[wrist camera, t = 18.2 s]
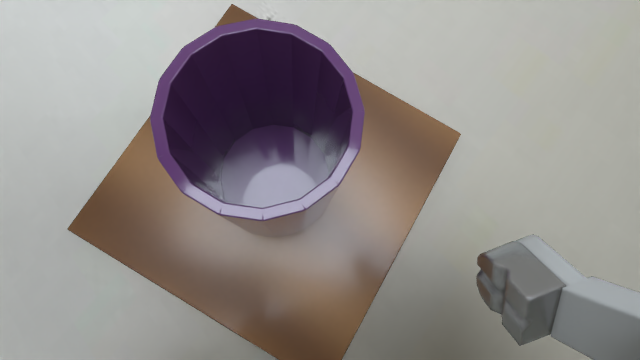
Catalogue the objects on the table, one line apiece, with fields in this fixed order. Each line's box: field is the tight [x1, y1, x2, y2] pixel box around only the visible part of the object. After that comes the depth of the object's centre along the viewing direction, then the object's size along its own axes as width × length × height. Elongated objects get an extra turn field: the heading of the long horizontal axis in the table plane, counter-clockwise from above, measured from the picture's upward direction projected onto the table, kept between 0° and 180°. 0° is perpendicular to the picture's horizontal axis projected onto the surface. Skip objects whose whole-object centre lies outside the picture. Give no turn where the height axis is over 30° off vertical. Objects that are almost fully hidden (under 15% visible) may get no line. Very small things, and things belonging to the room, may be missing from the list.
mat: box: [68, 4, 461, 360], centre depth 22 cm, size 16×16×1 cm
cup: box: [150, 19, 365, 238], centre depth 17 cm, size 7×7×10 cm
